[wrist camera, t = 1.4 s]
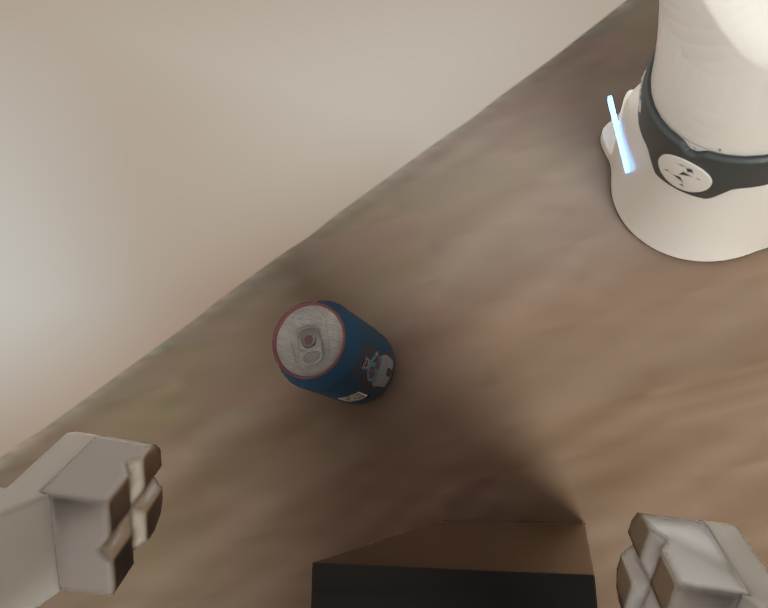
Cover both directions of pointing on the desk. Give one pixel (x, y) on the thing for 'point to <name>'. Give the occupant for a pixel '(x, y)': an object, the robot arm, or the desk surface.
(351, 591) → the shelf
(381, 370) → the soda can
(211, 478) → the desk surface
